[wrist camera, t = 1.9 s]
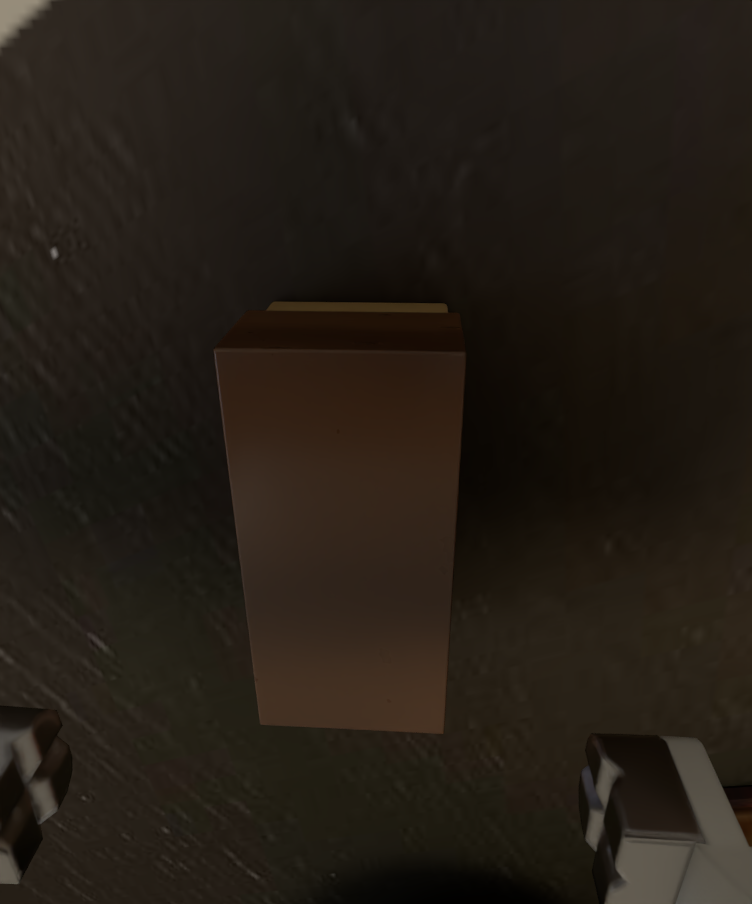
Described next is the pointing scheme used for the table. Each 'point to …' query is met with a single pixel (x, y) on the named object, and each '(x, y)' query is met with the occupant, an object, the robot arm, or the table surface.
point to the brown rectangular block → (346, 506)
